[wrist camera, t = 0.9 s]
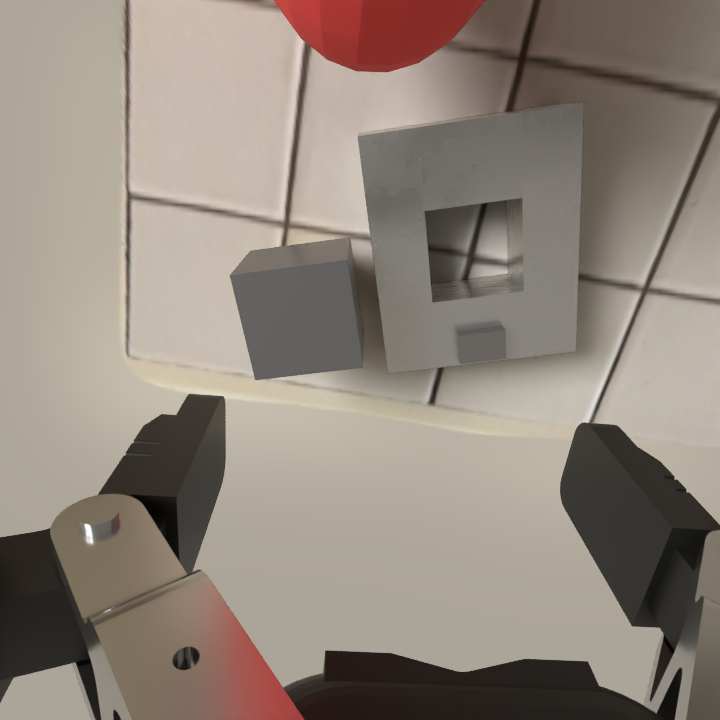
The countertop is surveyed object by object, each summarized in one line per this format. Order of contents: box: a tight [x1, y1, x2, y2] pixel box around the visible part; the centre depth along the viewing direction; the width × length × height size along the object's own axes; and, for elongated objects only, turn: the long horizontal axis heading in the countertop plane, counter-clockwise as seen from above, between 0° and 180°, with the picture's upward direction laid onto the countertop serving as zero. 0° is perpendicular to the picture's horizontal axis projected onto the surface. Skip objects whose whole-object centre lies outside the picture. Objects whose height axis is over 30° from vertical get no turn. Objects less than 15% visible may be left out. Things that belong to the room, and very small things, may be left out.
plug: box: [230, 237, 364, 380], centre depth 27 cm, size 5×5×7 cm
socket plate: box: [358, 103, 584, 373], centre depth 28 cm, size 10×12×4 cm
